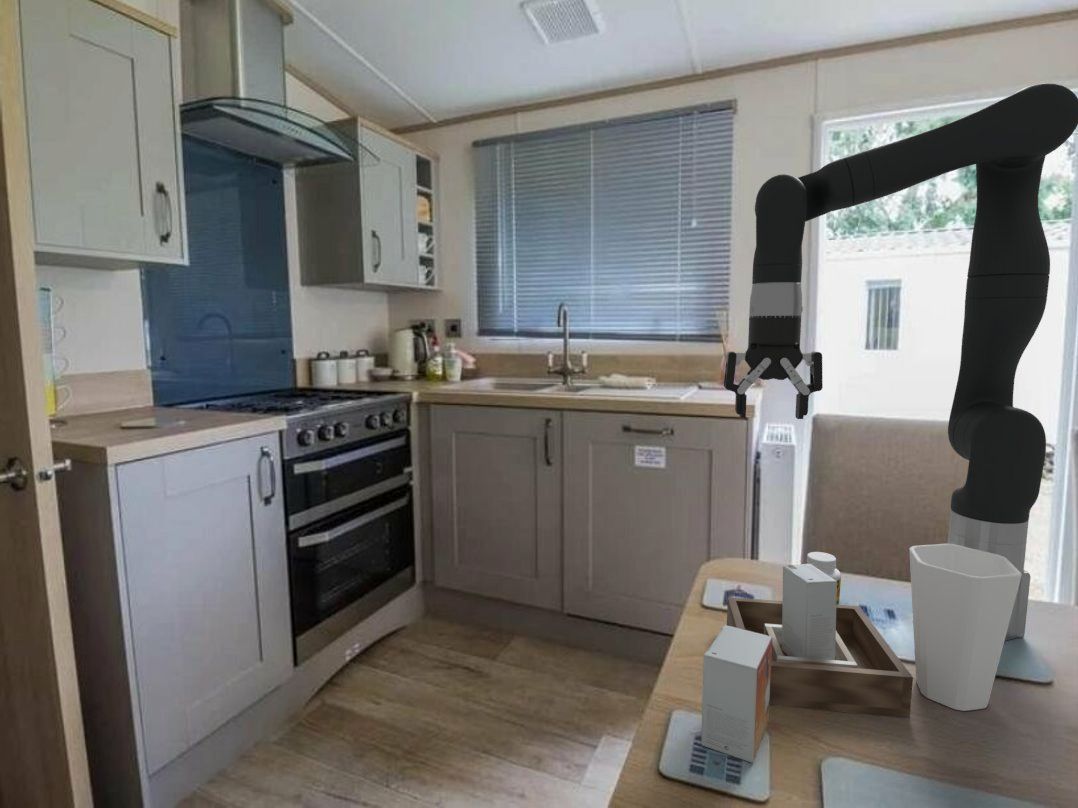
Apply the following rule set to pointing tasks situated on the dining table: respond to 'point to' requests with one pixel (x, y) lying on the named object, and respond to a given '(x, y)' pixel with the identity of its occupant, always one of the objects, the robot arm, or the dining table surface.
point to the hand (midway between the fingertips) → (770, 418)
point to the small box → (736, 692)
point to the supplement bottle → (826, 567)
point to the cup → (960, 621)
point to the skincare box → (808, 612)
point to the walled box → (831, 664)
